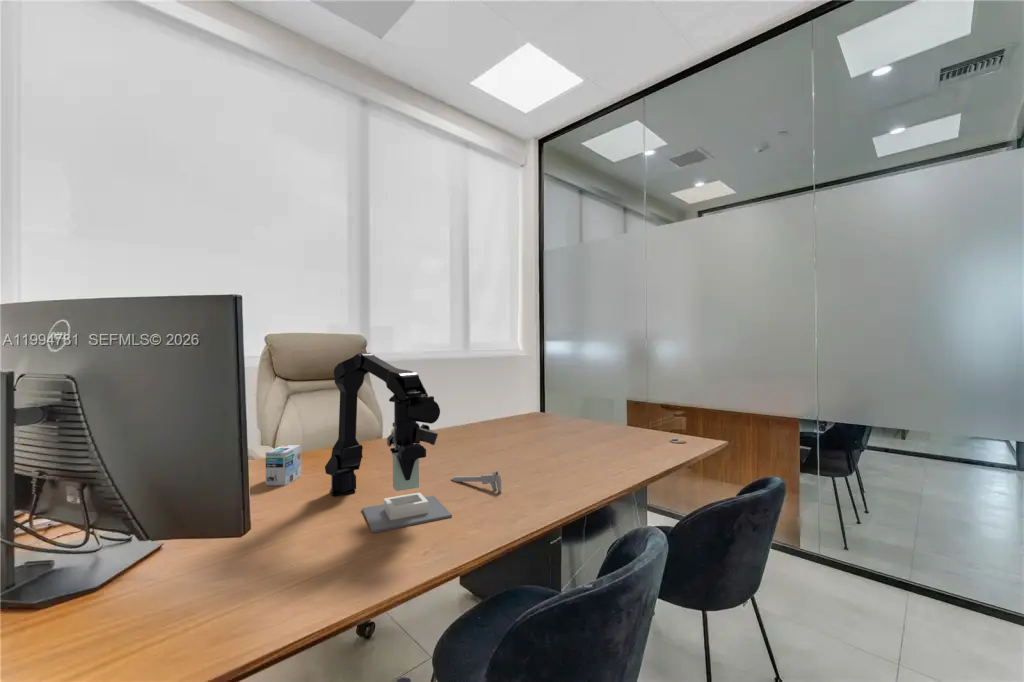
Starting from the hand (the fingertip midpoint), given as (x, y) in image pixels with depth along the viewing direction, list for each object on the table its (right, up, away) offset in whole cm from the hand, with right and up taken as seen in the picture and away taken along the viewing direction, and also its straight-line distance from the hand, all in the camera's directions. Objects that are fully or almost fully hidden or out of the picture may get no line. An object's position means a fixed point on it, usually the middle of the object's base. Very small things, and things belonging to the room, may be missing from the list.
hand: (405, 477), depth 116 cm
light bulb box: (-47, -10, +28) cm, 56 cm away
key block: (0, -3, 0) cm, 3 cm away
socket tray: (0, -10, 0) cm, 10 cm away
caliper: (+17, -10, +22) cm, 29 cm away
